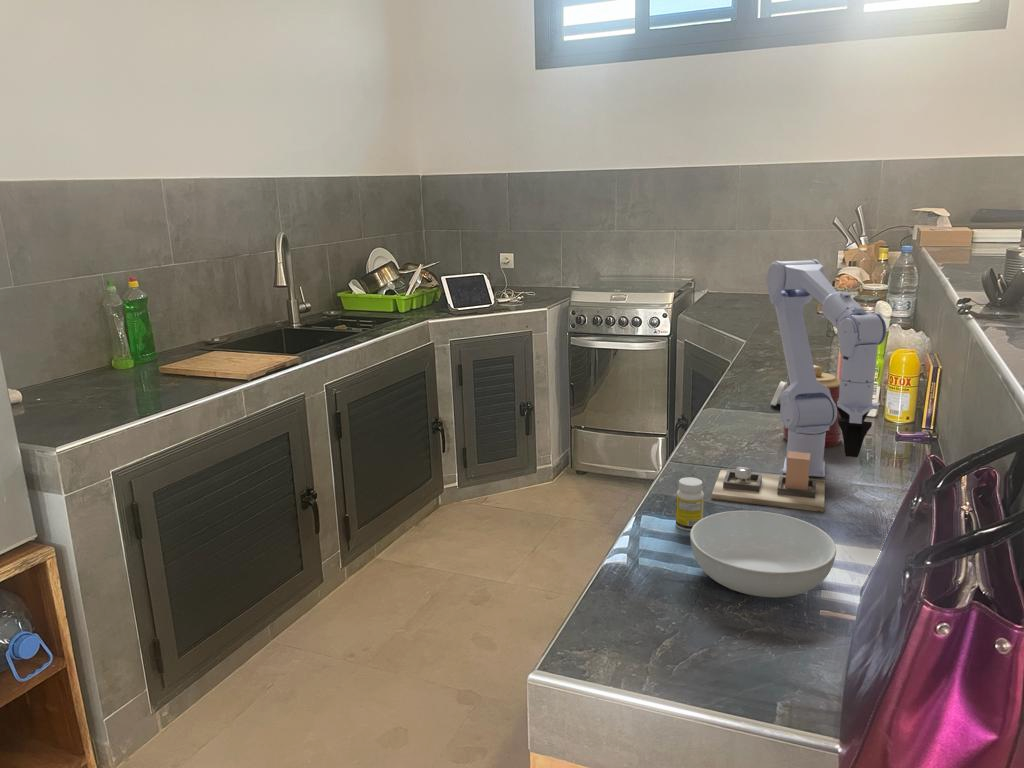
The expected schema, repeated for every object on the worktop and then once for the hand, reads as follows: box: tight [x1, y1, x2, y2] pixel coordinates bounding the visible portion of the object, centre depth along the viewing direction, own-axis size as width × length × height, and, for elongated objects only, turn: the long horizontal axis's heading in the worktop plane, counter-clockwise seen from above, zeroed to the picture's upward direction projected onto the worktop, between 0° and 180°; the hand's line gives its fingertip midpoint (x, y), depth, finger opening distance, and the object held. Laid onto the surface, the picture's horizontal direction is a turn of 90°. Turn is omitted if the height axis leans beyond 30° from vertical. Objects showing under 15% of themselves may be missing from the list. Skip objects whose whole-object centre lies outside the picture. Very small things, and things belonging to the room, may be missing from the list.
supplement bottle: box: [675, 476, 705, 532], centre depth 137 cm, size 5×5×8 cm
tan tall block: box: [785, 451, 811, 490], centre depth 150 cm, size 4×4×7 cm
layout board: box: [711, 469, 826, 513], centre depth 152 cm, size 14×20×2 cm
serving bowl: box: [689, 510, 837, 598], centre depth 118 cm, size 21×21×7 cm
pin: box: [734, 466, 752, 484], centre depth 154 cm, size 3×3×3 cm
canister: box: [781, 365, 843, 448], centre depth 181 cm, size 13×13×18 cm
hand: (850, 450), depth 147 cm, fingers open, 7 cm apart
